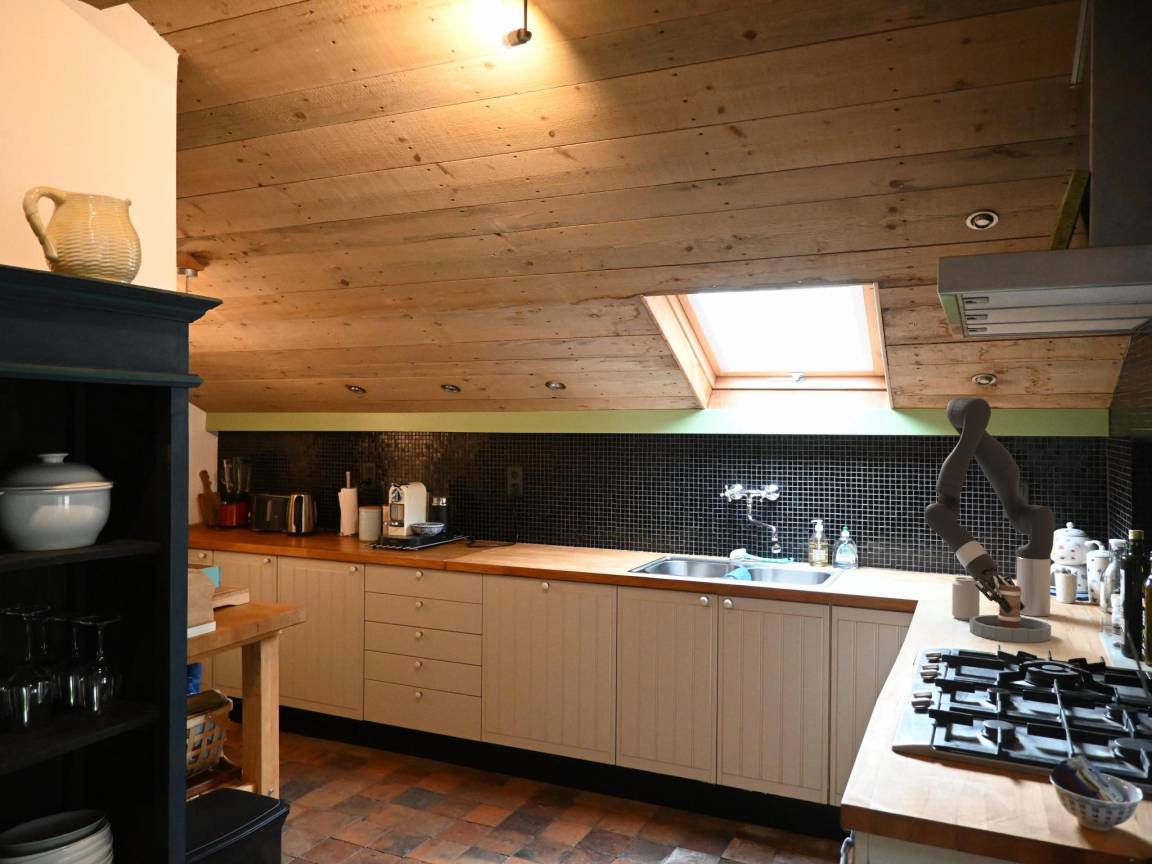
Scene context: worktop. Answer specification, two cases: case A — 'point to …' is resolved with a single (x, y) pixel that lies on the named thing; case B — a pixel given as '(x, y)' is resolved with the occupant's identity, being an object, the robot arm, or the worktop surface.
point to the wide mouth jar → (965, 598)
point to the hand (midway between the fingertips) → (1015, 610)
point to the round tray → (1010, 630)
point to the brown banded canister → (1013, 599)
